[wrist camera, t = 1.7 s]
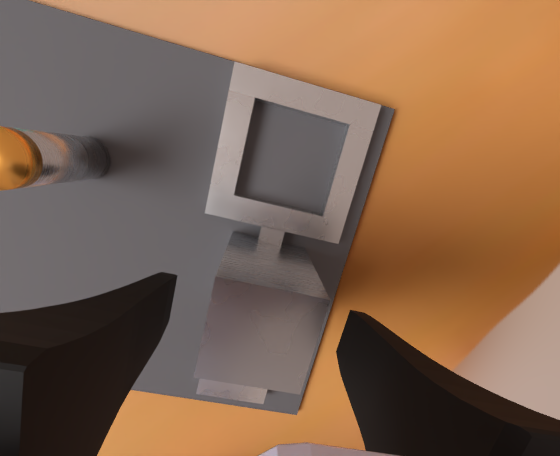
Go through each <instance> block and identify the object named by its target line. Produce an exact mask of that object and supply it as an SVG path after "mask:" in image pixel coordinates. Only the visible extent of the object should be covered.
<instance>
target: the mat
mask: <svg viewBox="0 0 560 456" xmlns="http://www.w3.org/2000/svg"><path fill="white" fill-rule="evenodd" d="M233 67H234V61H231V60H227V59H224V58H221V57H217V56H214V55H211V54H207V53H204V52H200V51H197V50H194V49H190V48H187V47H184V46H180V45H177V44H174V43H170V42H167V41H163V40H160V39H157V38H153V37H150V36H147V35H143V34H140V33H136V32H133V31H130V30H126V29H123V28H120V27H116V26H113V25H110V24H106V23H103V22H99V21H96V20H93V19H89V18H86V17H83V16H79V15H76V14H73V13H69V12H66V11H62V10H59V9H56V8H52V7H49V6H46V5H42V4H39V3H35V2H32V1H29V0H0V126H4V127H12V128H20V129H28V130H37V131H45V132H53V133H61V134H69V135H78V136H86V137H92V138H95V139H97V140H99V141H100V142H101V143H103V144H104V145H105V147H106V148H107V149H108V151H109V154H110V158H111V164H110V168H109V170H108V172H107V173H106V174H105V175H104V176H102V177H100V178H97V179H90V180H82V181H74V182H66V183H58V184H50V185H42V186H34V187H26V188H18V189H10V190H2V191H0V313H4V312H14V311H22V310H30V309H36V308H42V307H47V306H53V305H59V304H64V303H69V302H74V301H78V300H82V299H86V298H90V297H93V296H97V295H100V294H103V293H106V292H109V291H112V290H115V289H118V288H121V287H123V286H126V285H129V284H131V283H134V282H136V281H139V280H141V279H144V278H146V277H149V276H151V275H154V274H156V273H159V272H165V273H170V274H175V275H178V276H177V281H176V287H175V292H174V298H173V303H172V308H171V314H170V319H169V323H168V325H167V327H166V329H165V332H164V334H163V336H162V338H161V340H160V343H159V344H158V346H157V348H156V349H155V351H154V353H153V354H152V356H151V357H150V359H149V361H148V362H147V364H146V366H145V367H144V369H143V370H142V372H141V374H140V375H139V377H138V378H137V380H136V382H135V383H134V385H133V386H132V388H131V390H136V391H143V392H149V393H156V394H162V395H169V396H176V397H182V398H189V399H195V400H202V401H208V402H215V403H222V404H228V405H235V406H241V407H248V408H255V409H261V410H268V411H274V412H281V413H288V414H294V415H297V413H298V409H299V406H300V403H301V400H302V397H303V394H304V391H305V388H306V384H307V381H308V378H309V375H310V372H311V369H312V366H313V363H314V359H315V356H316V353H317V350H318V347H319V344H320V341H321V338H322V335H323V331H324V328H325V325H326V322H327V319H328V316H329V313H330V310H331V306H332V303H333V300H334V297H335V294H336V291H337V288H338V285H339V281H340V278H341V275H342V272H343V269H344V266H345V263H346V260H347V256H348V253H349V250H350V247H351V244H352V241H353V238H354V235H355V232H356V228H357V225H358V222H359V219H360V216H361V213H362V210H363V207H364V203H365V200H366V197H367V194H368V191H369V188H370V185H371V182H372V178H373V175H374V172H375V169H376V166H377V163H378V160H379V157H380V154H381V150H382V147H383V144H384V141H385V138H386V135H387V132H388V129H389V125H390V122H391V119H392V116H393V113H394V110H395V109H392V108H389V107H386V106H382V105H381V108H380V111H379V114H378V118H377V121H376V124H375V127H374V131H373V134H372V137H371V140H370V144H369V147H368V150H367V153H366V156H365V160H364V163H363V166H362V169H361V173H360V176H359V179H358V182H357V185H356V189H355V192H354V195H353V198H352V202H351V205H350V208H349V211H348V215H347V218H346V221H345V224H344V227H343V231H342V234H341V237H340V240H339V244H336V243H332V242H328V241H323V240H319V239H315V238H310V237H306V236H302V235H297V234H293V233H289V232H285V233H284V237H283V240H282V242H283V243H287V244H292V245H296V246H301V247H305V249H306V251H307V253H308V255H309V257H310V259H311V261H312V264H313V266H314V268H315V270H316V272H317V274H318V276H319V278H320V280H321V282H322V284H323V286H324V288H325V290H326V292H327V294H328V296H329V298H330V302H329V305H328V309H327V312H326V315H325V318H324V321H323V324H322V327H321V331H320V334H319V337H318V340H317V343H316V346H315V349H314V353H313V356H312V359H311V362H310V365H309V368H308V372H307V375H306V378H305V381H304V384H303V387H302V390H301V394H293V393H287V392H281V391H275V390H267V393H266V397H265V400H264V404H258V403H252V402H245V401H239V400H232V399H226V398H219V397H213V396H206V395H200V394H196V392H197V388H198V383H199V379H200V378H194V373H195V368H196V364H197V359H198V355H199V350H200V345H201V341H202V336H203V331H204V327H205V322H206V318H207V313H208V308H209V304H210V299H211V294H212V290H213V285H214V280H215V276H216V274H217V271H218V268H219V266H220V263H221V261H222V258H223V255H224V253H225V250H226V248H227V245H228V242H229V240H230V237H231V235H232V232H233V231H234V232H239V233H243V234H248V235H252V236H256V237H259V233H260V229H261V226H258V225H254V224H250V223H245V222H241V221H236V220H232V219H228V218H223V217H219V216H215V215H210V214H206V213H205V209H206V204H207V199H208V194H209V189H210V184H211V178H212V173H213V168H214V163H215V158H216V153H217V148H218V143H219V138H220V133H221V128H222V123H223V117H224V112H225V107H226V102H227V97H228V92H229V87H230V82H231V77H232V72H233ZM344 128H345V126H343V125H339V124H336V123H332V122H329V121H325V120H322V119H318V118H315V117H311V116H308V115H304V114H301V113H297V112H293V111H290V110H286V109H283V108H279V107H276V106H272V105H269V104H265V103H262V102H258V101H255V105H254V109H253V114H252V118H251V123H250V128H249V132H248V137H247V141H246V146H245V151H244V155H243V160H242V164H241V169H240V174H239V178H238V183H237V187H236V192H235V193H236V194H240V195H244V196H248V197H252V198H256V199H260V200H265V201H269V202H273V203H277V204H281V205H285V206H289V207H294V208H298V209H302V210H306V211H310V212H314V213H318V214H320V211H321V208H322V205H323V201H324V198H325V194H326V191H327V187H328V184H329V180H330V177H331V173H332V170H333V166H334V163H335V159H336V156H337V152H338V149H339V145H340V142H341V139H342V135H343V132H344Z"/></svg>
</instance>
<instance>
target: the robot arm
mask: <svg viewBox="0 0 560 456" xmlns="http://www.w3.org/2000/svg"><path fill="white" fill-rule="evenodd" d="M177 276H178V275H175V274H170V273H165V272H159V273H156V274H154V275H151V276H149V277H146V278H144V279H141V280H139V281H136V282H134V283H131V284H129V285H126V286H123V287H121V288H118V289H115V290H112V291H109V292H106V293H103V294H100V295H97V296H93V297H90V298H86V299H82V300H78V301H74V302H69V303H64V304H59V305H53V306H47V307H42V308H36V309H30V310H22V311H14V312H4V313H0V456H97V454H98V452H99V450H100V448H101V446H102V444H103V442H104V439H105V437H106V435H107V433H108V431H109V429H110V427H111V425H112V423H113V421H114V419H115V417H116V415H117V413H118V411H119V409H120V407H121V405H122V403H123V402H124V400H125V398H126V396H127V395H128V393H129V391H130V390H131V388H132V386H133V385H134V383H135V382H136V380H137V378H138V377H139V375H140V374H141V372H142V370H143V369H144V367H145V366H146V364H147V362H148V361H149V359H150V357H151V356H152V354H153V353H154V351H155V349H156V348H157V346H158V344H159V343H160V340H161V338H162V336H163V334H164V332H165V329H166V327H167V325H168V323H169V319H170V314H171V308H172V303H173V298H174V292H175V287H176V281H177ZM336 353H337V359H338V364H339V369H340V373H341V377H342V380H343V383H344V386H345V388H346V391H347V394H348V397H349V400H350V403H351V406H352V408H353V411H354V414H355V417H356V420H357V422H358V425H359V428H360V431H361V434H362V438H363V441H364V445H365V449H366V451H364V450H356V449H349V448H342V447H335V446H328V445H321V444H314V443H294V444H280V445H277V446H275V447H273V448H271V449H269V450H267V451H265V452H264V453H262V454H260V455H258V456H560V420H557V419H555V418H552V417H549V416H547V415H544V414H541V413H539V412H536V411H533V410H531V409H528V408H526V407H524V406H521V405H519V404H517V403H515V402H512V401H510V400H507V399H505V398H503V397H501V396H499V395H497V394H495V393H492V392H490V391H488V390H486V389H484V388H482V387H480V386H478V385H476V384H474V383H472V382H470V381H468V380H466V379H465V378H463V377H461V376H459V375H457V374H455V373H454V372H452V371H450V370H449V369H447V368H445V367H444V366H442V365H440V364H438V363H437V362H435V361H434V360H432V359H430V358H429V357H427V356H426V355H424V354H423V353H421V352H420V351H419V350H417V349H416V348H414V347H413V346H411V345H410V344H408V343H407V342H406V341H404V340H403V339H401V338H400V337H399V336H397V335H396V334H395V333H393V332H392V331H391V330H389V329H388V328H386V327H385V326H384V325H382V324H381V323H380V322H378V321H377V320H375V319H374V318H372V317H371V316H369V315H367V314H365V313H363V312H358V311H353V310H350V312H349V315H348V318H347V321H346V324H345V327H344V330H343V333H342V336H341V339H340V342H339V345H338V348H337V351H336Z"/></svg>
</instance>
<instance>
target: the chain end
mask: <svg viewBox="0 0 560 456" xmlns="http://www.w3.org/2000/svg"><path fill="white" fill-rule="evenodd" d="M255 101H258V102H262V103H265V104H269V105H272V106H276V107H279V108H283V109H286V110H290V111H293V112H297V113H301V114H304V115H308V116H311V117H315V118H318V119H322V120H325V121H329V122H332V123H336V124H339V125H343V126H345V128H344V132H343V135H342V139H341V142H340V145H339V149H338V152H337V156H336V159H335V163H334V166H333V170H332V173H331V177H330V180H329V184H328V187H327V191H326V194H325V198H324V201H323V205H322V208H321V211H320V214H318V213H314V212H310V211H306V210H302V209H298V208H294V207H289V206H285V205H281V204H277V203H273V202H269V201H265V200H260V199H256V198H252V197H248V196H244V195H240V194H236V193H235V192H236V187H237V183H238V178H239V174H240V169H241V164H242V160H243V155H244V151H245V146H246V141H247V137H248V132H249V128H250V123H251V118H252V114H253V109H254V105H255ZM380 108H381V105H380V104H377V103H373V102H370V101H366V100H363V99H360V98H356V97H353V96H350V95H346V94H343V93H339V92H336V91H333V90H329V89H326V88H323V87H319V86H316V85H313V84H309V83H306V82H302V81H299V80H296V79H292V78H289V77H286V76H282V75H279V74H276V73H272V72H269V71H265V70H262V69H259V68H255V67H252V66H249V65H245V64H242V63H239V62H234V67H233V72H232V77H231V82H230V87H229V92H228V97H227V102H226V107H225V112H224V117H223V123H222V128H221V133H220V138H219V143H218V148H217V153H216V158H215V163H214V168H213V173H212V178H211V184H210V189H209V194H208V199H207V204H206V209H205V213H206V214H210V215H215V216H219V217H223V218H228V219H232V220H236V221H241V222H245V223H250V224H254V225H258V226H261V229H260V233H259V237H256V236H252V235H248V234H243V233H239V232H234V231H233V232H232V235H231V237H230V240H229V242H228V245H227V248H226V250H225V253H224V255H223V258H222V261H221V263H220V266H219V268H218V271H217V274H216V276H215V280H214V285H213V290H212V294H211V299H210V304H209V308H208V313H207V318H206V322H205V327H204V331H203V336H202V341H201V345H200V350H199V355H198V359H197V364H196V368H195V373H194V378H200V379H199V383H198V388H197V392H196V394H200V395H206V396H213V397H219V398H226V399H232V400H239V401H245V402H252V403H258V404H264V400H265V397H266V393H267V390H275V391H281V392H287V393H293V394H301V390H302V387H303V384H304V381H305V378H306V375H307V372H308V368H309V365H310V362H311V359H312V356H313V353H314V349H315V346H316V343H317V340H318V337H319V334H320V331H321V327H322V324H323V321H324V318H325V315H326V312H327V309H328V305H329V302H330V298H329V296H328V294H327V292H326V290H325V288H324V286H323V284H322V282H321V280H320V278H319V276H318V274H317V272H316V270H315V268H314V266H313V264H312V261H311V259H310V257H309V255H308V253H307V251H306V249H305V247H301V246H296V245H292V244H287V243H283V242H282V240H283V237H284V233H285V232H289V233H293V234H297V235H302V236H306V237H310V238H315V239H319V240H323V241H328V242H332V243H336V244H339V240H340V237H341V234H342V231H343V227H344V224H345V221H346V218H347V215H348V211H349V208H350V205H351V202H352V198H353V195H354V192H355V189H356V185H357V182H358V179H359V176H360V173H361V169H362V166H363V163H364V160H365V156H366V153H367V150H368V147H369V144H370V140H371V137H372V134H373V131H374V127H375V124H376V121H377V118H378V114H379V111H380Z"/></svg>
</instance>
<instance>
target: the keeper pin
mask: <svg viewBox="0 0 560 456" xmlns="http://www.w3.org/2000/svg"><path fill="white" fill-rule="evenodd" d="M110 164H111V158H110V154H109V151H108V149H107V148H106V147H105V145H104V144H103V143H101V142H100V141H99V140H97V139H95V138H92V137H86V136H78V135H69V134H61V133H53V132H45V131H37V130H28V129H20V128H12V127H4V126H0V191H2V190H10V189H18V188H26V187H34V186H42V185H50V184H58V183H66V182H74V181H82V180H90V179H97V178H100V177H102V176H104V175H105V174H106V173H107V172H108V170H109V168H110Z"/></svg>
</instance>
